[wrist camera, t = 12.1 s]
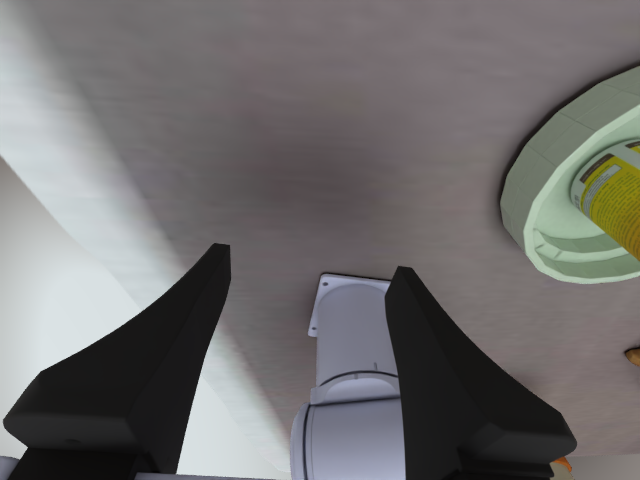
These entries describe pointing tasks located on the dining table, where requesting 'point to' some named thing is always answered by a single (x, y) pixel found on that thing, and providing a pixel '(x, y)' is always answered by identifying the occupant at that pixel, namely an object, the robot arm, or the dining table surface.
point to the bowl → (556, 181)
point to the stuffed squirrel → (634, 356)
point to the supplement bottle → (612, 193)
